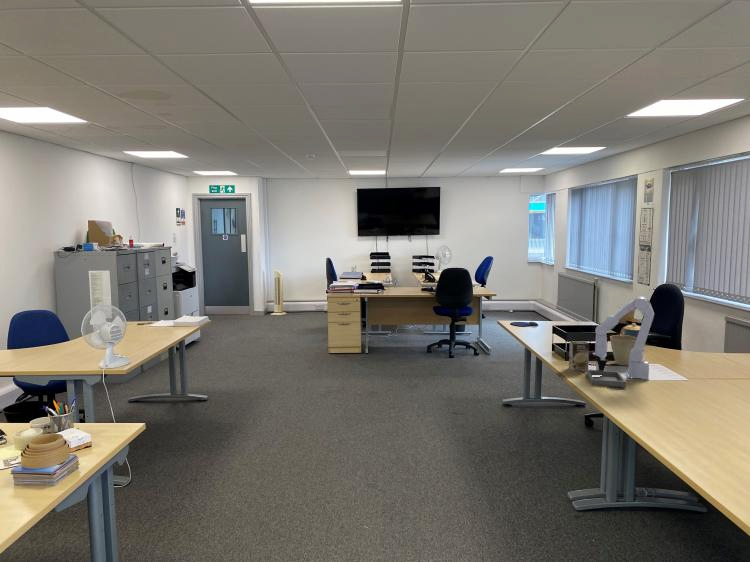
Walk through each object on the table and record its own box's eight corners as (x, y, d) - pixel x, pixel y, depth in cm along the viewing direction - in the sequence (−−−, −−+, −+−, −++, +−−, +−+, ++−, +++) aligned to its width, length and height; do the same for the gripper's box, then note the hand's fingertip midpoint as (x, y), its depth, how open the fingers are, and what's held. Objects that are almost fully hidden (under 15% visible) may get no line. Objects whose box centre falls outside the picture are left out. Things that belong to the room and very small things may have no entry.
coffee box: (571, 371, 271) (572, 343, 270) (568, 367, 278) (569, 341, 276) (588, 371, 270) (589, 343, 269) (584, 368, 277) (585, 341, 275)
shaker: (603, 371, 270) (604, 361, 269) (605, 373, 265) (605, 363, 265) (595, 370, 271) (595, 360, 270) (596, 373, 266) (596, 362, 266)
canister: (626, 345, 327) (627, 320, 325) (647, 348, 317) (648, 322, 315) (618, 348, 319) (619, 323, 317) (639, 352, 309) (640, 325, 307)
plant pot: (604, 360, 291) (605, 335, 290) (629, 360, 291) (630, 334, 289) (616, 367, 276) (617, 340, 275) (642, 367, 276) (643, 340, 274)
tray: (618, 376, 259) (618, 371, 259) (625, 387, 242) (626, 381, 242) (586, 375, 264) (586, 369, 263) (591, 385, 246) (592, 379, 246)
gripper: (591, 342, 274) (590, 365, 276) (595, 348, 261) (594, 372, 262) (604, 343, 272) (603, 366, 274) (609, 349, 259) (608, 373, 260)
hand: (600, 369), depth 268 cm, fingers open, 7 cm apart
